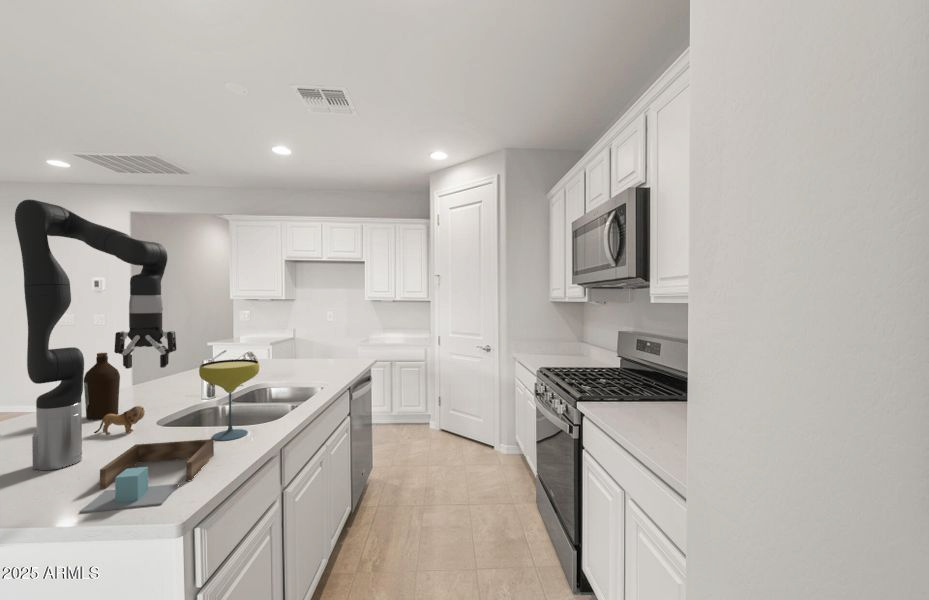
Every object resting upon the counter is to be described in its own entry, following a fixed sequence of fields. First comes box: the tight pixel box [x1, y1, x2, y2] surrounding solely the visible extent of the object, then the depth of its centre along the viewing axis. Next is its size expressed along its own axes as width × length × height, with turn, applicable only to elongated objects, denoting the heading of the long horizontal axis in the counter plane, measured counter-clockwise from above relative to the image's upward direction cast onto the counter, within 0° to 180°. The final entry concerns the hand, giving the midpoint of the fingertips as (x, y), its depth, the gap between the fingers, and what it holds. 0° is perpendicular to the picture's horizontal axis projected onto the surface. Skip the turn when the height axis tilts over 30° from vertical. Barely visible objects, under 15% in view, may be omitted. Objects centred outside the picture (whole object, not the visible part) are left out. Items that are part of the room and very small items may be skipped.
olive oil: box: [83, 352, 121, 421], centre depth 160 cm, size 11×11×25 cm
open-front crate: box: [99, 438, 215, 490], centre depth 114 cm, size 20×17×5 cm
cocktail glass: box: [198, 358, 260, 442], centre depth 142 cm, size 18×18×25 cm
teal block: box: [114, 466, 149, 503], centre depth 99 cm, size 4×5×6 cm
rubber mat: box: [78, 483, 180, 514], centre depth 99 cm, size 16×10×1 cm, turn 105°
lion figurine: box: [93, 405, 146, 436], centre depth 144 cm, size 15×5×9 cm, turn 108°
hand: (146, 367), depth 118 cm, fingers open, 8 cm apart
